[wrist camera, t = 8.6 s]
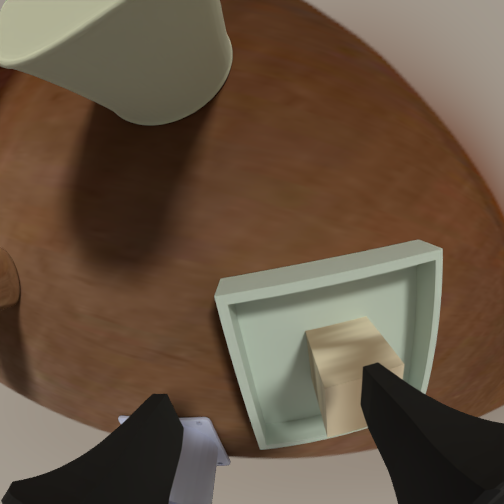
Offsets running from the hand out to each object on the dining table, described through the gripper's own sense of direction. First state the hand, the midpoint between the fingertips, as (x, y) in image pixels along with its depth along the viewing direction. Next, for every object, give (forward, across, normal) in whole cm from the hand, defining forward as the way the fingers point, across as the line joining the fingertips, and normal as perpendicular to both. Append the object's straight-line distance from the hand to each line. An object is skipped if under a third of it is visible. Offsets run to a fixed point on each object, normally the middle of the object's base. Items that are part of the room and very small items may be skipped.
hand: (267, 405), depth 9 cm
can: (+10, +4, -17) cm, 20 cm away
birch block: (+9, -5, +4) cm, 11 cm away
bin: (+9, -5, +5) cm, 12 cm away
